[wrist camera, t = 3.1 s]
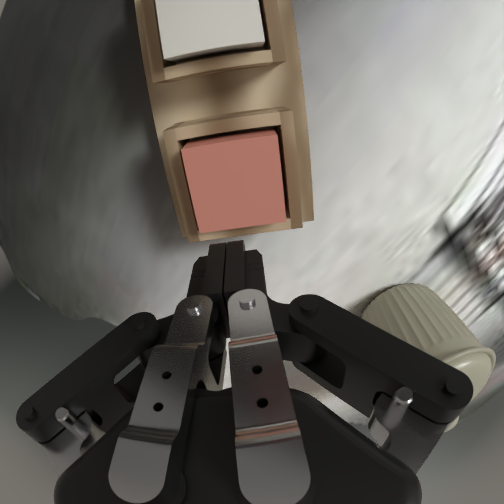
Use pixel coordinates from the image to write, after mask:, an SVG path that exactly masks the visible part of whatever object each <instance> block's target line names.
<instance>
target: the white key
mask: <svg viewBox="0 0 504 504" xmlns="http://www.w3.org/2000/svg"><path fill="white" fill-rule="evenodd" d="M155 2H156V10H157V17H158V24H159V31H160V37H161V44H162V50H163V56H164V59H166V60H169V61H172V62H175V61H179V60H183V59H188V58H193V57H197V56H203V55H208V54H213V53H219V52H226V51H232V50H239V49H247V48H256V47H262V46H263V44H264V42H265V39H264V32H263V26H262V20H261V14H260V8H259V2H258V0H155Z"/></svg>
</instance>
